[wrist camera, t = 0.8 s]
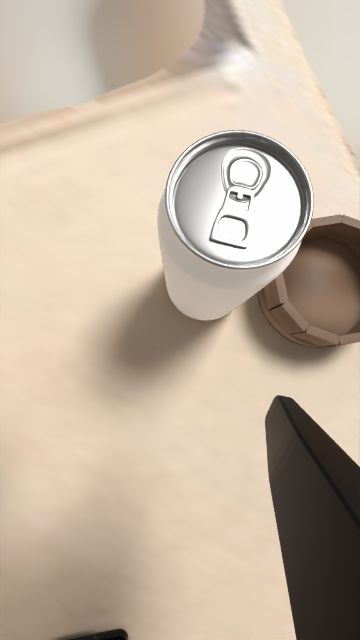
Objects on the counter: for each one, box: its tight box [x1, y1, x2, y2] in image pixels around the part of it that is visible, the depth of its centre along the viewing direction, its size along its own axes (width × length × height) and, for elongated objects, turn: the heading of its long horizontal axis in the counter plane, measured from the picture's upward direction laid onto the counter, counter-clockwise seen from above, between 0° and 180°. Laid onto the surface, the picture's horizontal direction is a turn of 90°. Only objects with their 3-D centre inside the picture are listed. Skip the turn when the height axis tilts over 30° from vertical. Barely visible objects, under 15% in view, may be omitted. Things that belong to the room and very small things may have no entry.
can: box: [158, 130, 314, 320], centre depth 15 cm, size 6×6×12 cm
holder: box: [258, 215, 360, 347], centre depth 20 cm, size 10×10×4 cm
